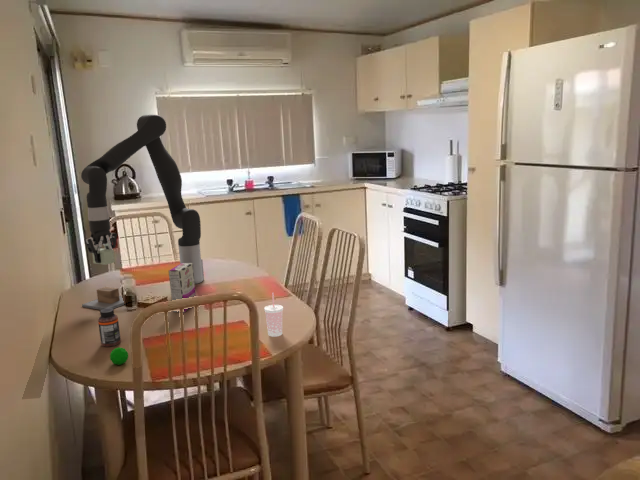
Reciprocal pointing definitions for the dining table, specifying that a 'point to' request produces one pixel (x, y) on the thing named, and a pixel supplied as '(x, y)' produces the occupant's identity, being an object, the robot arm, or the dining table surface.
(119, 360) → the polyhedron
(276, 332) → the beverage cup
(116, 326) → the supplement bottle
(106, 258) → the sage brick
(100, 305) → the plate
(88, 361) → the dining table surface
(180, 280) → the candy bar box
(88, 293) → the dining table surface
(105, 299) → the walnut brick
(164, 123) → the robot arm
